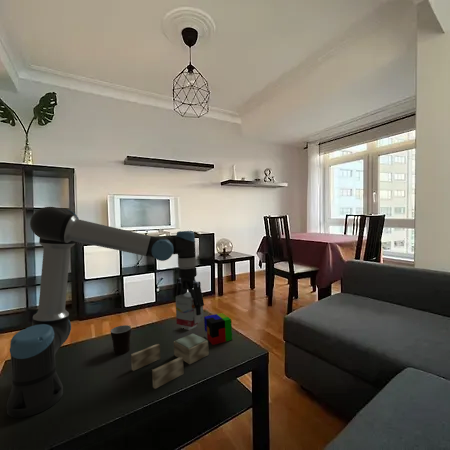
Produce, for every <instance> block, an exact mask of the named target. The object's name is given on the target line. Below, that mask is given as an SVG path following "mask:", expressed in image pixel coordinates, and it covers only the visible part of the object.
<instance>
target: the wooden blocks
mask: <svg viewBox="0 0 450 450" xmlns="http://www.w3.org/2000/svg"><path fill="white" fill-rule="evenodd" d="M173 354H174V356H175V357H176V358H175V359H173V360H170V361H169V362H166V363H164V364H162V365H159V366H158V367H155V368H154V369H153V368H152V369H151V370H152V371H151V375H152V376H151V377H152V388H153V389H154V390H156V389H158V388H159V387H161V386H164V385H165V384H167V383H169V382H171V381H172V380H173V381H174V380H175V379H176V378H178V377H180V376H182V375H184V372H185V369H184V362H185V363H187V364H188V365H191V364H193V363H195V362H198V361H199V360H201V359H203V358H205V357H207V356H209V340H208V339H207V338H204V337H202V336H200V335H197V334H195V333H191V334H188V335H185V336H183V337H181V338H178V339H176V340H174V341H173ZM130 360H131V361H130V363H131V371H132V372H135V371H137V370H139V369H141V368H143V367H146V366H148V365H149V364H152V363H154V362H156V361H159V360H161V344H159V343H156V344H154V345H150V346H148V347H146V348H144V349H141V350H138V351H136V352H133V353H131V354H130Z"/></svg>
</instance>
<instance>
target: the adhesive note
mask: <svg viewBox="0 0 450 450" xmlns="http://www.w3.org/2000/svg"><path fill="white" fill-rule="evenodd" d="M197 327H198V324H196V325H195V326H193V327H189V326H184V325H180V328H181V329H183V328H184V329H183V330H188V331H191V330H192V329H195V328H197Z"/></svg>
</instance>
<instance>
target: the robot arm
mask: <svg viewBox="0 0 450 450" xmlns="http://www.w3.org/2000/svg"><path fill="white" fill-rule="evenodd" d="M29 226H30V230H31V231H32V233H33V234H34V235H35V236H36V237H38V238H39V241H38V243H39V244H40V245H41V246H42V247H43V252H42V265H41V273H40V274H41V277H40V284H39V285H40V287H39V297H38V298H39V299H38V310H37V312H36V313H34V314H33V316H32V322H31V326H28V327H25V329H21V330H19V331H18V332H16V333H15V334H14V335H13V336H12V338H11V339H10V345H9V346H10V347H9V354H10V365H11V366H10V367H11V379H12V386H11V390H10V393H9V396H8V398H7V399H8V400H7V403H6V414H7V415H8V417H11V418H13V419H14V418H16V419H19V418H20V419H21V418H26V417H31V416H34V415H37V414H39V413H42V412H44V411H46V410H48V409H50V408H51V407H53V406H54V405H55V404H56V403H57V402H59V400H61V398H62V396H64V395H63V394H64V386H63V383H62V381H61V379H60V377H59V375H58V373H57V369H56V354H57V352H58V351H59V349H60V348H61V347H62V346H63V345H64V343H65V342H66V341H67V340H68V339H69V336H70V334H71V331H72V323H71V321H70V319H69V318H70V316H69V315H70V313H69V311H67V309H66V302H67V290H68V278H69V266H70V256H71V248H72V247H73V246H75V245H76V242H77V243H82V244H85V245H89V246H90V245H92V246H95V247H100V248H105V249H106V248H107V249H110V250H116V251H120V252H125V253H129V254H134V255H139V256H144V257H148V258H153V259H156V260H157V261H160V262H164V261H165V262H166V261H168V260H169V259H171V257H172V256H173V255H177V265H178V278H176V289H175V290H176V291H175V300H176V296H179V295H181V294H185V293H186V292H190V294H191V297H192V298H193V301H194V305H195V307H194V323H195V324H196V323H198V324H200V323H202V321H201V318H200V315H201V306H203V307H204V306H205V304H204V303H205V302H204V298H203V297H202V294H203V293H202V288H201V286H202V285H201V281H196V276H197V274H198V273H197V271H198V270H197V267H196V266H197V260H196V259H197V258H196V257H197V256H196V238H195V232H194V231H193V230H183V231H177V232H176V235H175V236H161V237H160V236H159V237H156V236H153V235H147V234H143V233H139V232H134V231H131V230H126V229H121V228H117V227H113V226H110V225H105V224H100V223H96V222H93V221H88V220H83V219H79V217H78V215H77V214H76V213H75V212H74V211H72V210H70V209H68V208H63V207H55V206H44V207H41V208H39V209H38V210H36V211H35V212H34V213H33V214H32V215H31V217H30V222H29ZM199 322H200V323H199Z"/></svg>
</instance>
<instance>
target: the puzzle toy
mask: <svg viewBox="0 0 450 450" xmlns="http://www.w3.org/2000/svg"><path fill="white" fill-rule="evenodd" d="M203 321H204V322H203V324H204V337H205V339H206V340H207V341H208V343H210V344H211V345H212V346H213V345H218V344H223V343H226V342H229V341H232V340H233V326H232V318H230V317H229V316H228V315H226V314H225V313H223V312H221V313H215V314H211V315H205V316H203Z"/></svg>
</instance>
